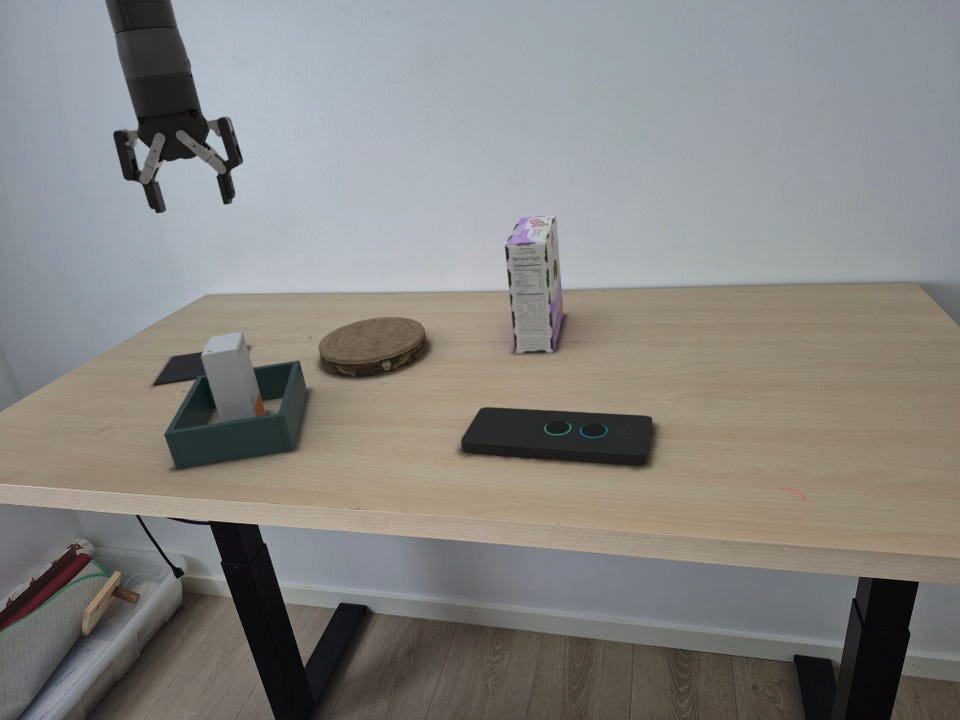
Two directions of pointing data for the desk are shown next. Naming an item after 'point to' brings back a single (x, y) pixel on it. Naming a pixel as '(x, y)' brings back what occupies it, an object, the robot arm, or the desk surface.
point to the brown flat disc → (373, 347)
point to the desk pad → (182, 369)
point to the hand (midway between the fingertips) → (195, 207)
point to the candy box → (534, 284)
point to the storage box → (238, 421)
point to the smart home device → (560, 435)
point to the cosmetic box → (232, 377)
